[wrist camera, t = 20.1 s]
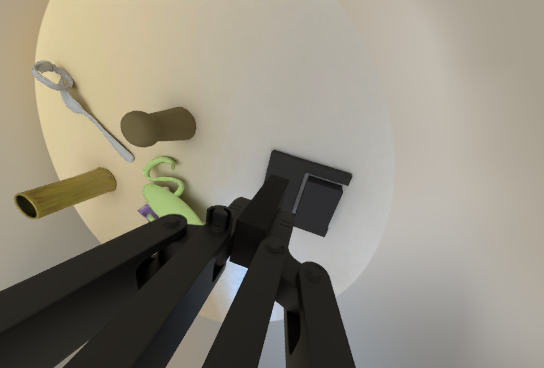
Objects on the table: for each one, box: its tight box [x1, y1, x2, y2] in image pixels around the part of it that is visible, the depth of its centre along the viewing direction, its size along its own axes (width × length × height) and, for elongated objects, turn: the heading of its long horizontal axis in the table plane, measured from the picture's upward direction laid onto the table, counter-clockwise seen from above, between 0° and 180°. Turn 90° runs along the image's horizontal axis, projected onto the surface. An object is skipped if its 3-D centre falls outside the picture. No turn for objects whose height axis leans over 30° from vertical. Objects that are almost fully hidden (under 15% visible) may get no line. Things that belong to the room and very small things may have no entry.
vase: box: [14, 168, 116, 219], centre depth 41 cm, size 6×6×14 cm
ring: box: [32, 61, 73, 91], centre depth 37 cm, size 3×5×5 cm, turn 36°
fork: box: [58, 77, 134, 162], centre depth 42 cm, size 3×21×3 cm, turn 39°
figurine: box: [137, 157, 205, 225], centre depth 43 cm, size 18×27×6 cm
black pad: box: [264, 150, 352, 237], centre depth 36 cm, size 14×13×2 cm
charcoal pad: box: [295, 175, 343, 231], centre depth 35 cm, size 6×8×3 cm
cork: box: [121, 107, 196, 147], centre depth 32 cm, size 6×6×11 cm
